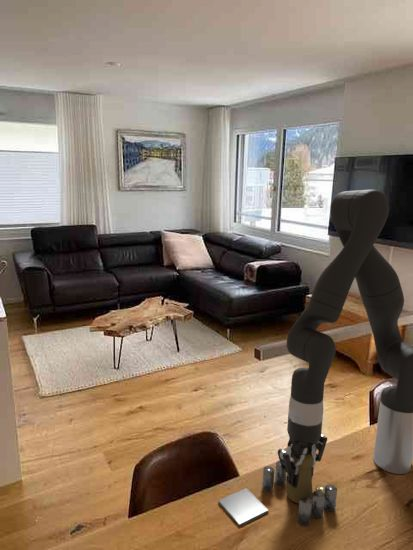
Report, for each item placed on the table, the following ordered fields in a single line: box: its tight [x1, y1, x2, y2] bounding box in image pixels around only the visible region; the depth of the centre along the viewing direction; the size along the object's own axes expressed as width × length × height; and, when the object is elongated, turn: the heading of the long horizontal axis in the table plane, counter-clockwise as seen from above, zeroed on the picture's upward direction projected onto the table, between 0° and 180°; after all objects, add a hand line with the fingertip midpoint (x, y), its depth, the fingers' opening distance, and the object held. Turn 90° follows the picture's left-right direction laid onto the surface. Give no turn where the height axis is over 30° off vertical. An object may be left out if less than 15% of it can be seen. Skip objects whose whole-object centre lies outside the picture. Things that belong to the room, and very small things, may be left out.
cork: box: [286, 454, 314, 504], centre depth 96 cm, size 6×6×11 cm
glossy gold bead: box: [314, 483, 327, 495], centre depth 99 cm, size 3×3×1 cm
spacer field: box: [261, 460, 338, 527], centre depth 96 cm, size 11×15×5 cm
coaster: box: [218, 487, 269, 527], centre depth 93 cm, size 8×8×1 cm
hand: (300, 481), depth 96 cm, fingers closed on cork, 4 cm apart
